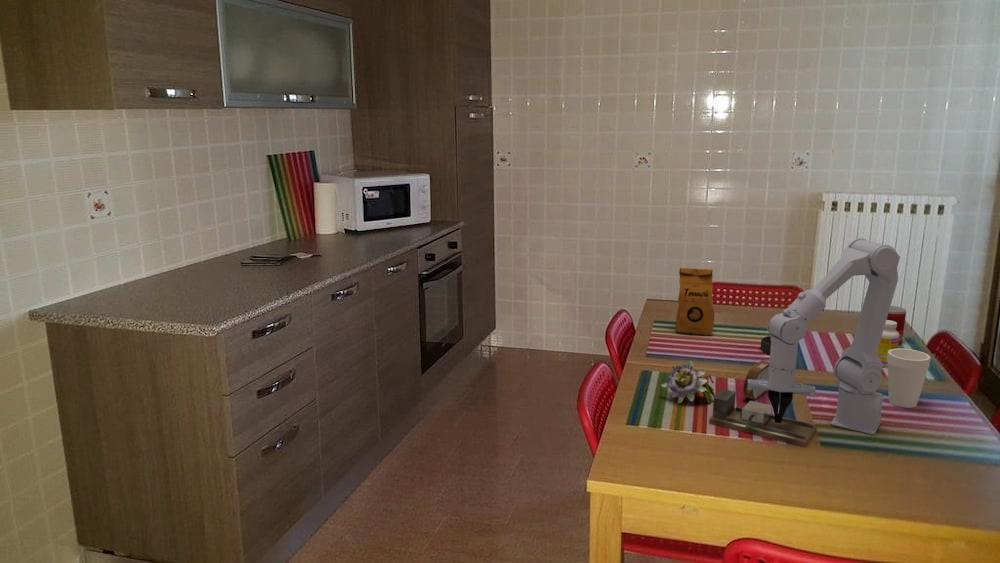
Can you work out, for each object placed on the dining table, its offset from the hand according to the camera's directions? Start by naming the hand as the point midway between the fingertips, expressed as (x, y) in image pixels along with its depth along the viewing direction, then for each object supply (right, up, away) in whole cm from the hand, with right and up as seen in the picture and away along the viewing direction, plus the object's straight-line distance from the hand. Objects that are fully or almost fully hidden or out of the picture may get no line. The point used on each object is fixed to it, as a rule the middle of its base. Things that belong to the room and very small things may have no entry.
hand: (777, 421), depth 171 cm
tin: (+3, +3, +22) cm, 23 cm away
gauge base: (-3, -2, +3) cm, 4 cm away
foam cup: (+38, +1, +16) cm, 41 cm away
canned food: (+60, +13, +64) cm, 89 cm away
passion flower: (-16, +2, +20) cm, 25 cm away
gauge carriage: (-5, 0, +2) cm, 6 cm away
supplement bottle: (+47, +8, +44) cm, 65 cm away
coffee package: (0, +15, +76) cm, 77 cm away
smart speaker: (+20, +11, +56) cm, 60 cm away
